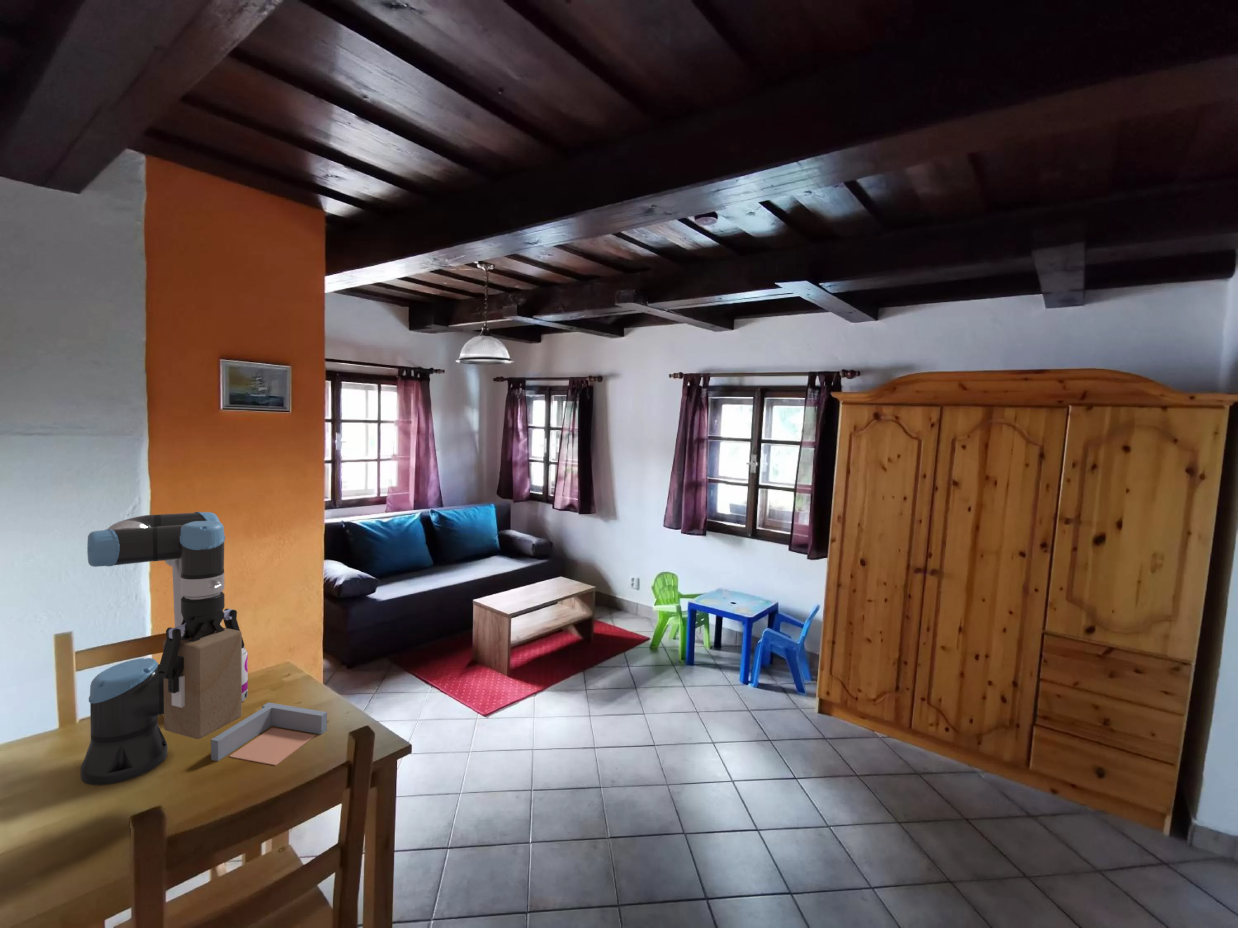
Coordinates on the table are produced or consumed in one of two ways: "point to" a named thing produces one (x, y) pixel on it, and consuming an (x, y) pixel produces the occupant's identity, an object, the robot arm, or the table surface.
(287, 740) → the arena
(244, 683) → the supplement can
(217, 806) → the table surface
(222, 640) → the wooden block
